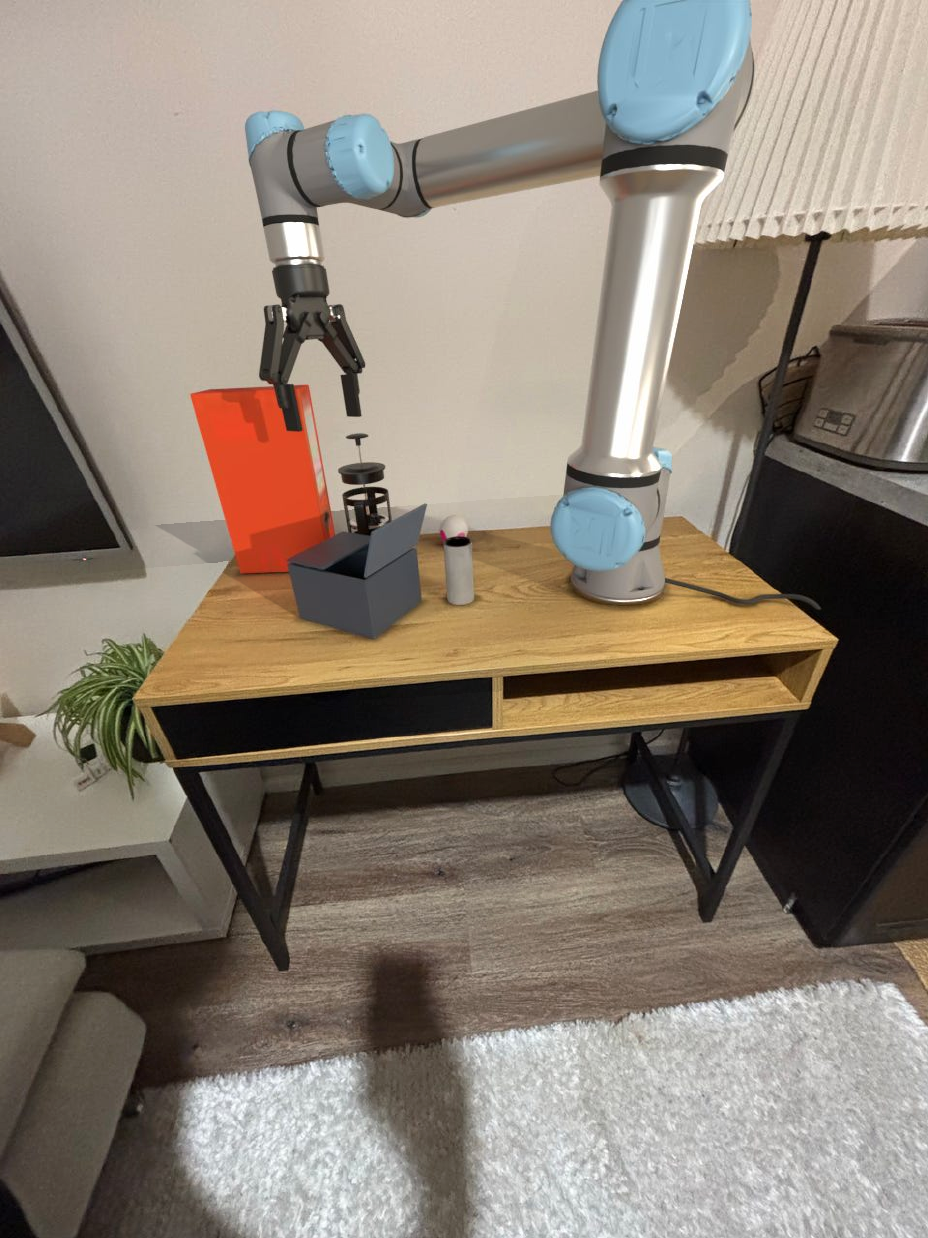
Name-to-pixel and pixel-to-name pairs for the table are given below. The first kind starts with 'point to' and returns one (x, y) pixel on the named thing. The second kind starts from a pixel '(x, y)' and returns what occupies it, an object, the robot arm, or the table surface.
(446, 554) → the gray hollow cylinder
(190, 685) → the table surface
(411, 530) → the flap
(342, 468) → the french press
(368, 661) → the table surface
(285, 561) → the file binder
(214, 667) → the table surface
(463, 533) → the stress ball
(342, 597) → the carton
